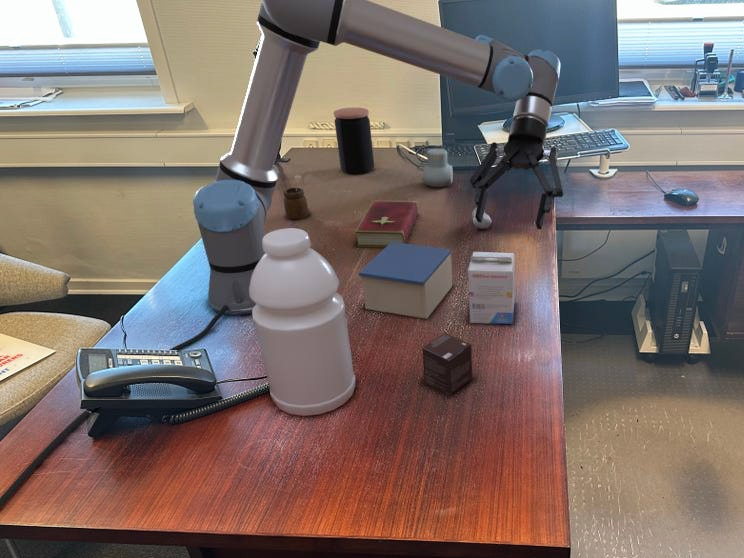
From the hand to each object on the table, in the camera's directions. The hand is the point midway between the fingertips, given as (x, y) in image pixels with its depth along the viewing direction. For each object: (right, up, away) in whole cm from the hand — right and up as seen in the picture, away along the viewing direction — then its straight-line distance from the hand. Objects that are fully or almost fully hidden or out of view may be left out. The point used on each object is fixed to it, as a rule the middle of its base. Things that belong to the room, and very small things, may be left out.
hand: (507, 223), depth 129 cm
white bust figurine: (-5, +8, +39) cm, 40 cm away
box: (-11, -31, -19) cm, 38 cm away
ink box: (-3, -18, 0) cm, 19 cm away
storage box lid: (-21, -8, +2) cm, 22 cm away
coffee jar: (-45, +33, +77) cm, 95 cm away
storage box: (-20, -14, +6) cm, 26 cm away
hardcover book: (-29, +6, +36) cm, 47 cm away
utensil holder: (-55, +11, +45) cm, 72 cm away
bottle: (-34, -33, -21) cm, 51 cm away
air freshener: (-18, +25, +65) cm, 72 cm away
